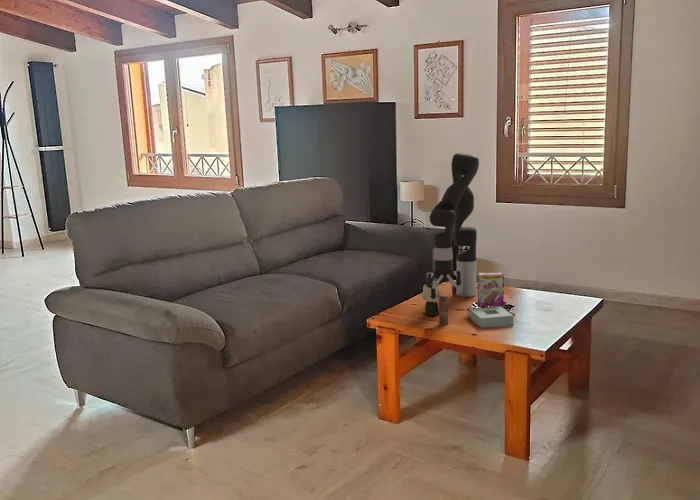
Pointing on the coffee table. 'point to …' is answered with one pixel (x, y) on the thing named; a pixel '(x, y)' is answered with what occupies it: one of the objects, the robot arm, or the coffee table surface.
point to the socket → (491, 316)
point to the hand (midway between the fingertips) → (443, 296)
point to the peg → (443, 310)
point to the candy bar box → (490, 289)
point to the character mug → (431, 300)
